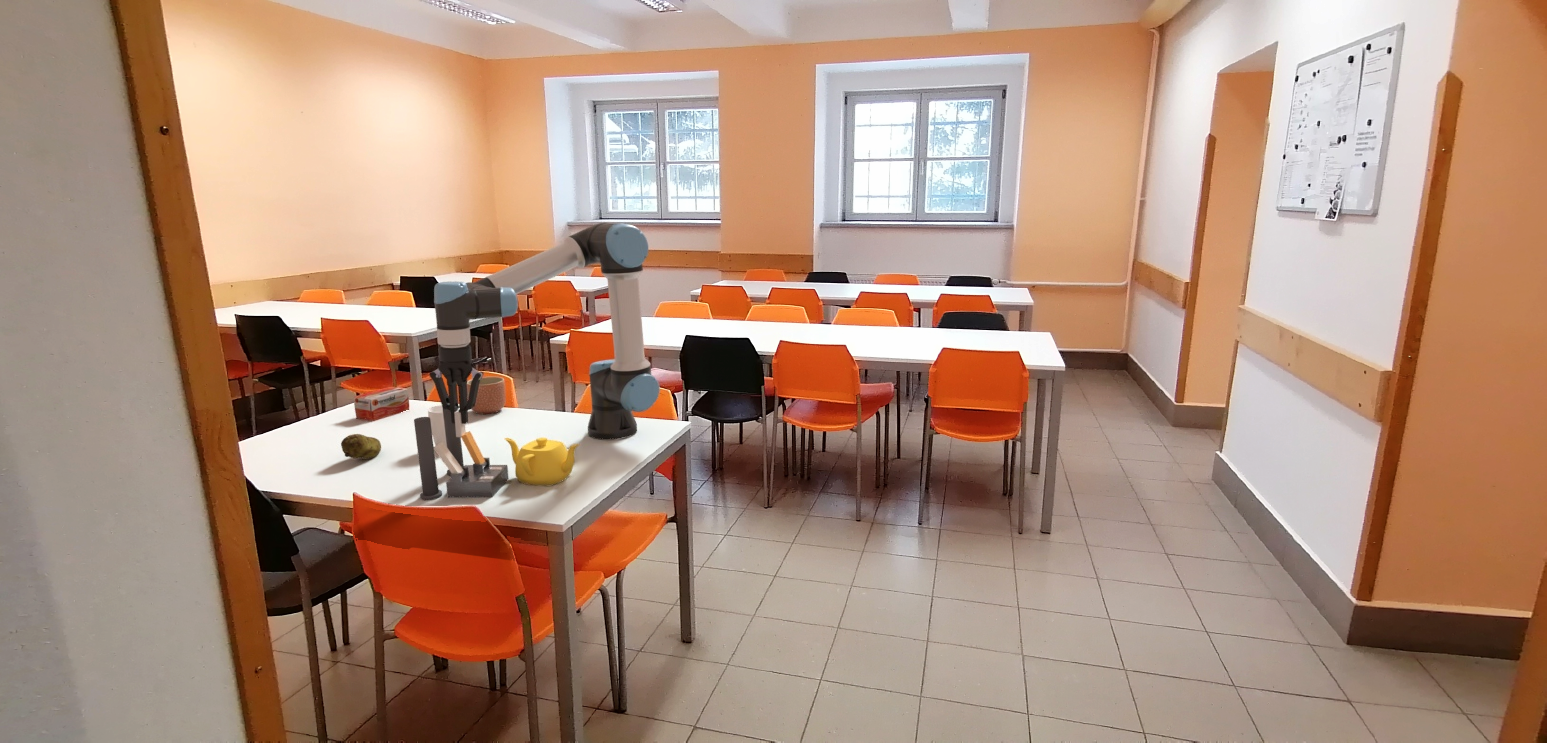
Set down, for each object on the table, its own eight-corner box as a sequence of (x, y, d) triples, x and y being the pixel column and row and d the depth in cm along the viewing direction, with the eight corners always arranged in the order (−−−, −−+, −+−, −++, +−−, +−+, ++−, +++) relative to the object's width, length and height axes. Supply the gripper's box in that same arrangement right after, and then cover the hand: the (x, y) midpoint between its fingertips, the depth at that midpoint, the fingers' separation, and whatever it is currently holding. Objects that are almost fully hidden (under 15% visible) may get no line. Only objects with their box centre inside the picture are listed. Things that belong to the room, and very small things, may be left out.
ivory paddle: (466, 473, 189) (443, 440, 187) (461, 478, 186) (437, 444, 184) (461, 476, 189) (437, 443, 187) (456, 481, 186) (432, 448, 184)
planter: (461, 415, 255) (458, 384, 252) (481, 405, 267) (478, 375, 264) (495, 417, 253) (492, 385, 250) (513, 407, 265) (511, 377, 262)
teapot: (487, 486, 193) (483, 446, 190) (521, 465, 207) (518, 428, 205) (564, 494, 187) (560, 453, 185) (594, 472, 202) (591, 434, 199)
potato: (394, 453, 218) (391, 426, 217) (355, 467, 207) (351, 440, 205) (373, 449, 221) (370, 423, 220) (334, 464, 210) (330, 436, 208)
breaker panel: (508, 479, 198) (506, 456, 196) (492, 497, 186) (489, 473, 185) (466, 479, 198) (464, 457, 196) (447, 497, 186) (445, 473, 185)
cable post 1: (445, 492, 189) (436, 415, 185) (437, 499, 185) (427, 421, 180) (425, 492, 189) (416, 416, 185) (416, 500, 185) (406, 422, 180)
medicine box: (372, 422, 249) (369, 399, 247) (355, 419, 252) (352, 396, 250) (410, 410, 262) (408, 388, 261) (394, 407, 266) (391, 386, 264)
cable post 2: (470, 469, 205) (462, 398, 200) (462, 476, 200) (454, 403, 195) (451, 469, 205) (443, 398, 200) (444, 476, 200) (435, 403, 195)
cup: (452, 453, 218) (448, 413, 215) (425, 451, 219) (420, 412, 217) (471, 443, 226) (467, 405, 224) (444, 441, 228) (440, 403, 225)
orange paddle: (488, 464, 195) (470, 430, 193) (483, 469, 192) (465, 434, 190) (482, 466, 195) (465, 432, 193) (477, 471, 192) (460, 436, 190)
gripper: (486, 342, 190) (491, 431, 195) (435, 341, 190) (442, 430, 195) (474, 348, 183) (480, 440, 188) (421, 346, 183) (429, 439, 188)
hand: (461, 435), depth 192 cm, fingers closed
